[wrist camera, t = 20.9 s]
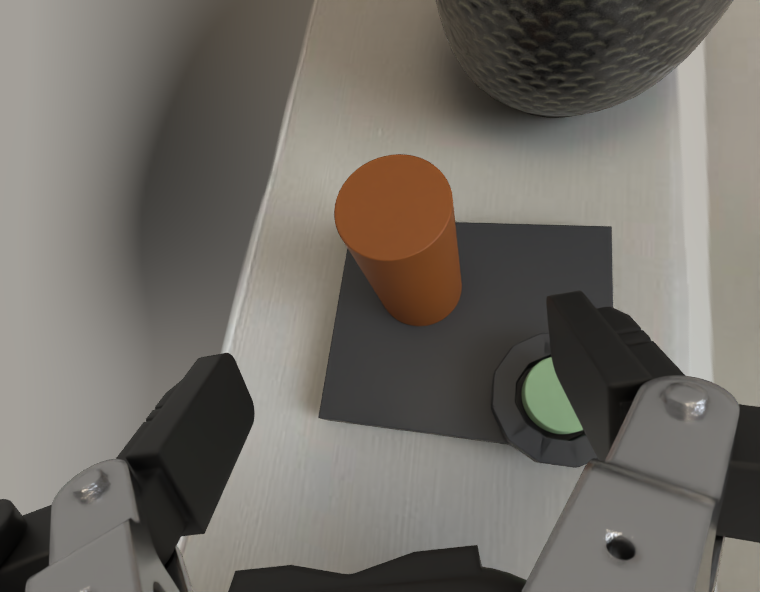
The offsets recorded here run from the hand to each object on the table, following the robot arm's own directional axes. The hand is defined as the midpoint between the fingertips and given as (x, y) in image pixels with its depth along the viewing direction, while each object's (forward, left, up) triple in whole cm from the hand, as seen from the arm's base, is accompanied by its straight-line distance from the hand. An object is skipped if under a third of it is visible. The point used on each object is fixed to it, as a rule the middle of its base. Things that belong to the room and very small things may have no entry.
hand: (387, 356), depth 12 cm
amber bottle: (-2, +7, -15) cm, 17 cm away
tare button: (+6, +1, -14) cm, 15 cm away
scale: (+1, +5, -17) cm, 18 cm away
